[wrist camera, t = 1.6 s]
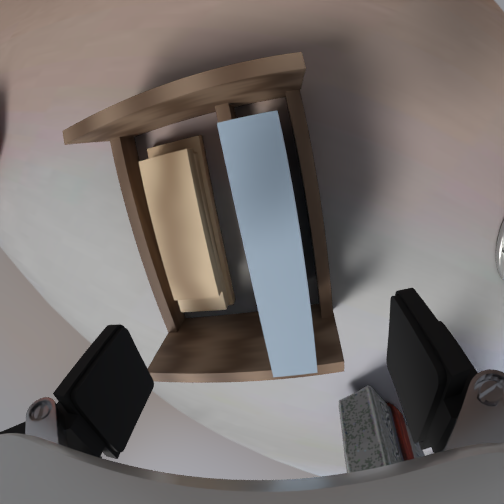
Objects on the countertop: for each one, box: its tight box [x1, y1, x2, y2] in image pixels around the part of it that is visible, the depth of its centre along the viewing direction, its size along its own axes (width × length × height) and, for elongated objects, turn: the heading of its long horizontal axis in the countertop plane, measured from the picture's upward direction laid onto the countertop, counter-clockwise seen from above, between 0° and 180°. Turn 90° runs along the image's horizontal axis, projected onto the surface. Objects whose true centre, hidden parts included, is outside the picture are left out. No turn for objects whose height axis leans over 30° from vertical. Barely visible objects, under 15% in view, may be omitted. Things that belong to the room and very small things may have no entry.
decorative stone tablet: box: [339, 385, 425, 473], centre depth 30 cm, size 19×6×30 cm
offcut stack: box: [139, 136, 235, 312], centre depth 28 cm, size 6×18×5 cm, turn 10°
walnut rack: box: [62, 52, 344, 383], centre depth 25 cm, size 19×24×10 cm
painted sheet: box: [217, 111, 318, 377], centre depth 22 cm, size 3×16×14 cm, turn 11°
